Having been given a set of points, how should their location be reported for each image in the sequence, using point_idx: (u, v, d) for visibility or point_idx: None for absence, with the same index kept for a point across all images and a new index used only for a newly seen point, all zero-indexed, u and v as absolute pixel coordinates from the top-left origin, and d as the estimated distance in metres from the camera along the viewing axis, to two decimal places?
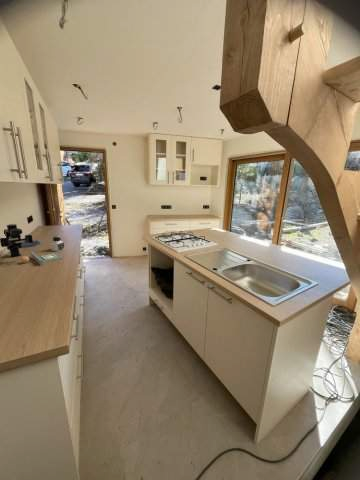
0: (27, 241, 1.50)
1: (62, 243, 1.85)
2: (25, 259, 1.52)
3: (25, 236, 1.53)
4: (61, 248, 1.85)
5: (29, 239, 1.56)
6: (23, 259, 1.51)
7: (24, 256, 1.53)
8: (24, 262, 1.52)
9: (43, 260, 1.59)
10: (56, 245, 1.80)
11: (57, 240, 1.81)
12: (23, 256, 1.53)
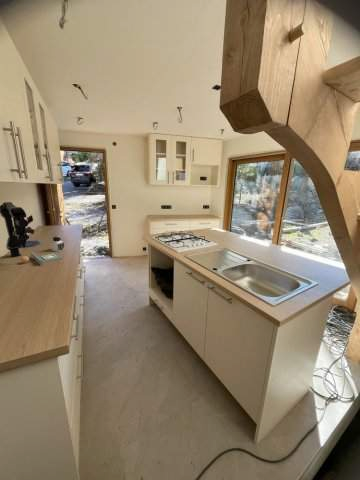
0: (21, 244, 1.54)
1: (62, 243, 1.85)
2: (25, 259, 1.52)
3: None
4: (61, 248, 1.85)
5: None
6: (23, 259, 1.51)
7: (24, 256, 1.53)
8: (24, 262, 1.52)
9: (43, 260, 1.59)
10: (56, 245, 1.80)
11: (57, 240, 1.81)
12: (23, 256, 1.53)
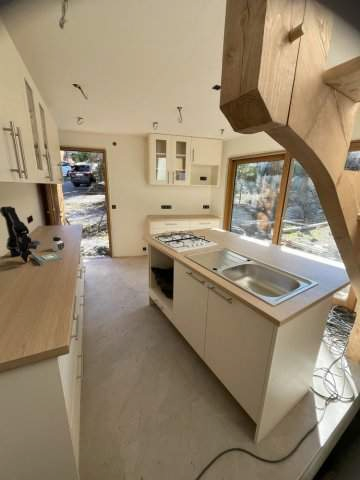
0: None
1: (62, 243, 1.85)
2: None
3: None
4: (61, 248, 1.85)
5: None
6: None
7: None
8: (24, 262, 1.52)
9: (43, 260, 1.59)
10: (56, 245, 1.80)
11: (57, 240, 1.81)
12: None
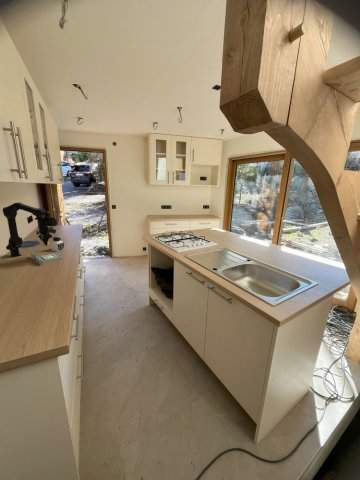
0: None
1: (62, 243, 1.85)
2: None
3: None
4: (61, 248, 1.85)
5: None
6: (43, 242, 1.59)
7: None
8: (44, 245, 1.60)
9: (43, 260, 1.59)
10: (56, 245, 1.80)
11: (57, 240, 1.81)
12: None
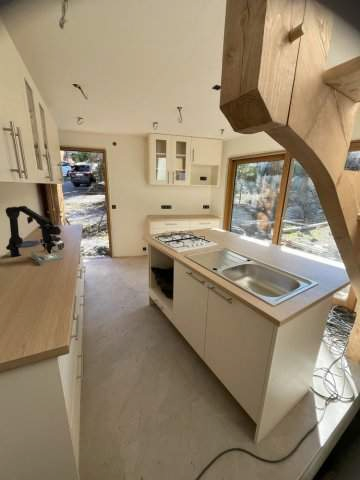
0: None
1: (62, 243, 1.85)
2: None
3: None
4: (61, 248, 1.85)
5: None
6: (47, 251, 1.62)
7: None
8: (48, 253, 1.63)
9: (43, 260, 1.59)
10: (56, 245, 1.80)
11: None
12: None
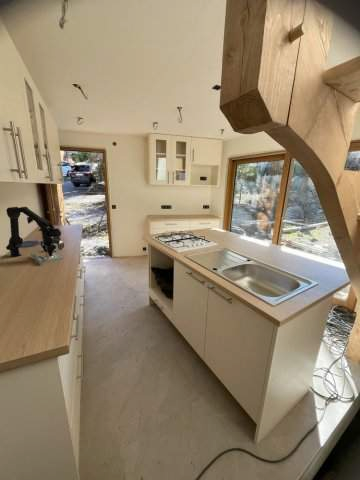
0: None
1: (62, 243, 1.85)
2: None
3: None
4: (61, 248, 1.85)
5: None
6: (47, 254, 1.63)
7: None
8: (48, 256, 1.64)
9: (43, 260, 1.59)
10: (56, 245, 1.80)
11: None
12: None
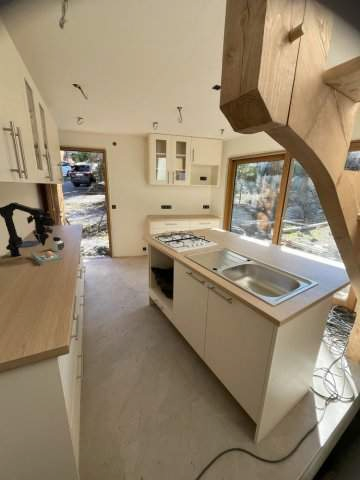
0: (40, 242, 1.67)
1: (62, 243, 1.85)
2: (49, 254, 1.63)
3: None
4: (61, 248, 1.85)
5: None
6: (47, 254, 1.63)
7: (48, 251, 1.64)
8: (48, 256, 1.64)
9: (43, 260, 1.59)
10: (56, 245, 1.80)
11: (57, 240, 1.81)
12: (47, 251, 1.64)
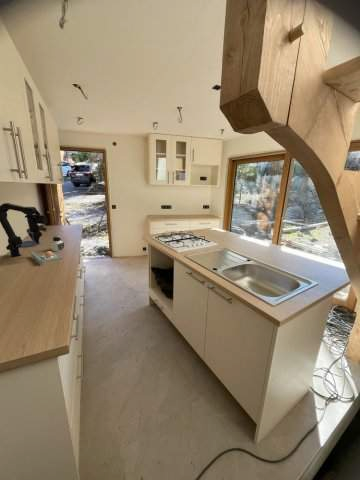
0: None
1: (62, 243, 1.85)
2: (49, 254, 1.63)
3: None
4: (61, 248, 1.85)
5: None
6: (48, 254, 1.63)
7: (48, 251, 1.64)
8: None
9: (43, 260, 1.59)
10: (56, 245, 1.80)
11: (57, 240, 1.81)
12: (47, 251, 1.64)
